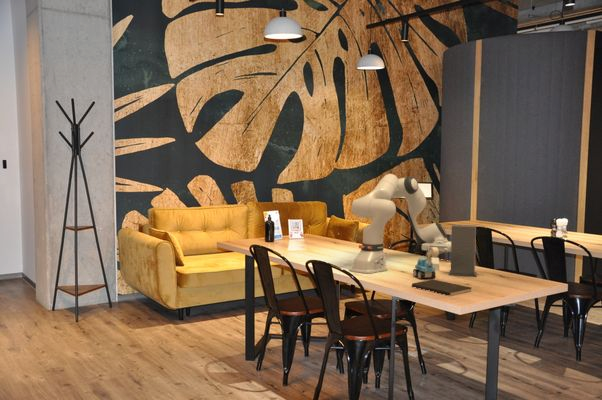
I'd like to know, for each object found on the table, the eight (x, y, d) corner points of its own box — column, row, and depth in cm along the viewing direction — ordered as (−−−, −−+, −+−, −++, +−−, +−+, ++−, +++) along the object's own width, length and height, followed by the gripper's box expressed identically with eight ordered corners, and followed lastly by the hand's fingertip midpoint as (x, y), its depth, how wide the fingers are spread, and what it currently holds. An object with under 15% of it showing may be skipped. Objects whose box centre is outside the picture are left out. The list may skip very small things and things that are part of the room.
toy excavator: (427, 282, 301) (427, 248, 300) (411, 276, 317) (412, 243, 316) (442, 281, 304) (443, 247, 302) (426, 275, 320) (427, 242, 318)
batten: (439, 271, 332) (439, 263, 332) (431, 270, 333) (431, 263, 333) (438, 264, 352) (438, 257, 352) (431, 264, 353) (431, 257, 352)
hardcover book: (433, 284, 301) (433, 279, 301) (472, 292, 282) (472, 287, 282) (411, 288, 291) (411, 283, 291) (449, 297, 273) (450, 292, 273)
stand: (476, 277, 315) (477, 227, 313) (448, 275, 319) (449, 226, 317) (476, 273, 324) (478, 225, 322) (449, 271, 329) (450, 224, 327)
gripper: (422, 240, 370) (419, 243, 357) (457, 241, 363) (455, 245, 350) (422, 250, 370) (419, 253, 357) (456, 252, 364) (455, 255, 351)
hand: (437, 249), depth 354 cm, fingers open, 8 cm apart
